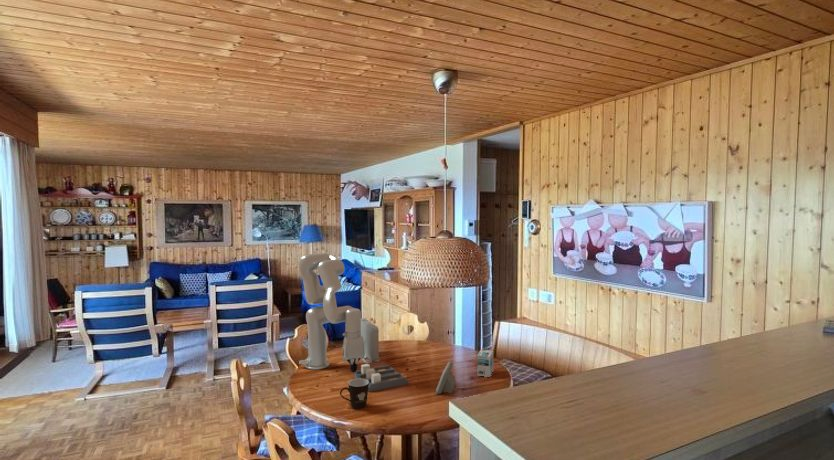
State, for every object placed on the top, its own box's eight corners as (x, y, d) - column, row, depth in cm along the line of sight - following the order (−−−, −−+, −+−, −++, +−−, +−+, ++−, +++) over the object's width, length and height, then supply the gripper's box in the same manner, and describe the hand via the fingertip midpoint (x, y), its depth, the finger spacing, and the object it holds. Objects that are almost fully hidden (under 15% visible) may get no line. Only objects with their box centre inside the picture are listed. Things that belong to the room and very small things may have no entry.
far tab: (363, 374, 207) (363, 366, 207) (361, 372, 210) (361, 364, 209) (370, 373, 208) (369, 365, 208) (367, 371, 211) (367, 363, 211)
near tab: (373, 384, 194) (373, 376, 194) (371, 382, 197) (371, 374, 197) (380, 383, 196) (380, 374, 196) (378, 381, 199) (378, 372, 199)
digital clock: (443, 381, 205) (443, 359, 204) (460, 384, 201) (460, 362, 200) (429, 393, 190) (429, 370, 190) (447, 397, 186) (447, 373, 186)
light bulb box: (490, 378, 208) (490, 356, 208) (476, 376, 210) (477, 355, 210) (493, 370, 218) (493, 350, 218) (480, 369, 220) (480, 349, 220)
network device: (354, 352, 249) (354, 318, 249) (368, 350, 253) (368, 317, 252) (368, 365, 226) (367, 328, 226) (383, 363, 230) (383, 327, 229)
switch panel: (368, 391, 192) (368, 385, 192) (354, 377, 209) (353, 371, 209) (407, 384, 201) (407, 377, 201) (390, 370, 219) (390, 364, 218)
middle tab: (368, 379, 201) (368, 371, 201) (366, 377, 203) (366, 369, 203) (375, 378, 202) (375, 370, 202) (372, 376, 205) (372, 368, 205)
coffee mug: (369, 401, 182) (369, 378, 182) (368, 410, 173) (368, 386, 173) (342, 401, 181) (342, 378, 181) (339, 410, 173) (339, 386, 173)
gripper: (340, 338, 199) (340, 376, 199) (370, 334, 206) (370, 371, 206) (336, 334, 206) (336, 371, 206) (365, 330, 212) (365, 366, 213)
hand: (353, 371), depth 206 cm, fingers closed
